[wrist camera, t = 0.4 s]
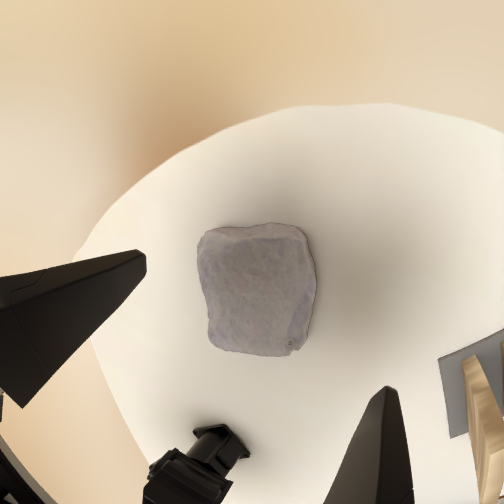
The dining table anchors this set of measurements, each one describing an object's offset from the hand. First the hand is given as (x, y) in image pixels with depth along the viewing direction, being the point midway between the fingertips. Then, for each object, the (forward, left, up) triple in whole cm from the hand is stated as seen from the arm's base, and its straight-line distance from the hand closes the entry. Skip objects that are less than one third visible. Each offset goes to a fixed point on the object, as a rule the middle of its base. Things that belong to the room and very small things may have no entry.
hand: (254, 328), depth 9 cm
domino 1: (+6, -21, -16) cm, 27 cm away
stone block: (-7, -1, -17) cm, 19 cm away
